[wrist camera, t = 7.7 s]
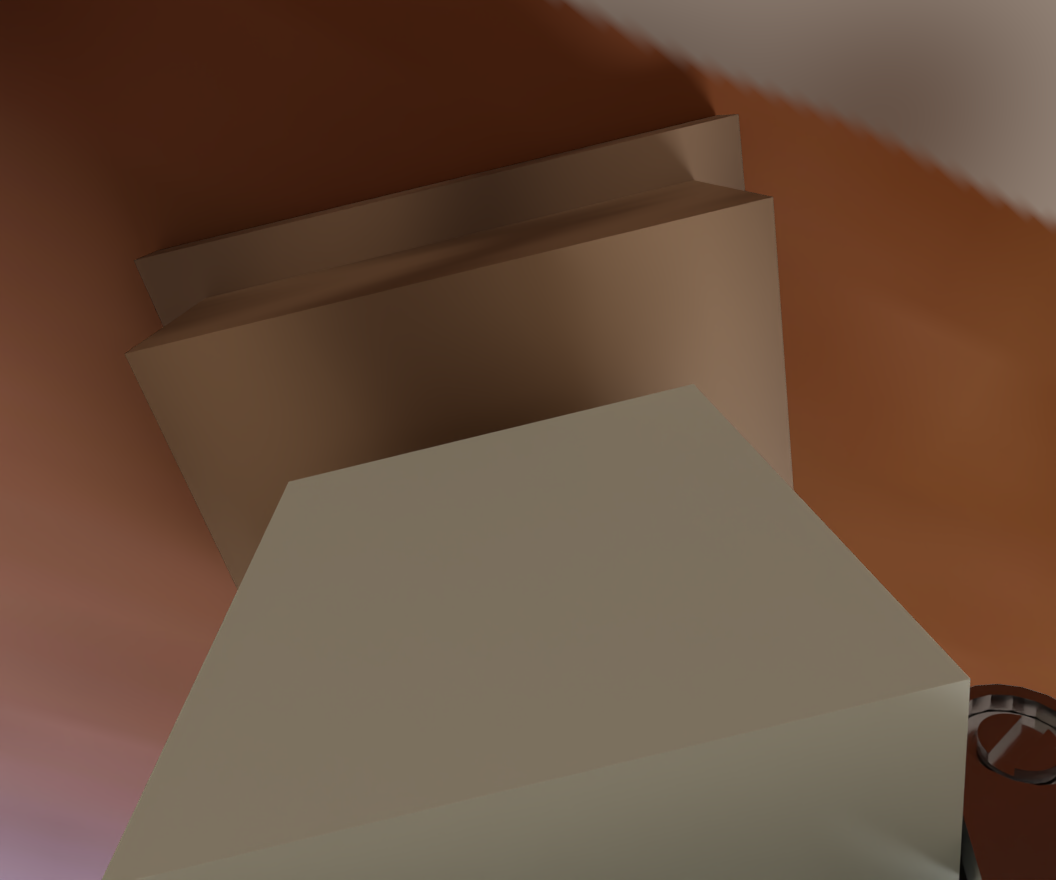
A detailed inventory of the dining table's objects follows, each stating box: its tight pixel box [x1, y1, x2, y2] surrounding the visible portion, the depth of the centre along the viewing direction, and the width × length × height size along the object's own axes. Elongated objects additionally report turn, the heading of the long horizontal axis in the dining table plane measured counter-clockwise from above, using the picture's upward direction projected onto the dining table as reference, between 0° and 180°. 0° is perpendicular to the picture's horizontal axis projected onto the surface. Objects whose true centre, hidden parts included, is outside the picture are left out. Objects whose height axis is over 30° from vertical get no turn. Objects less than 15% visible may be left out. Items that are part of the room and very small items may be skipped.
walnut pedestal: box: [125, 114, 793, 590], centre depth 15 cm, size 12×12×5 cm
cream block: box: [102, 384, 970, 880], centre depth 9 cm, size 6×6×6 cm
